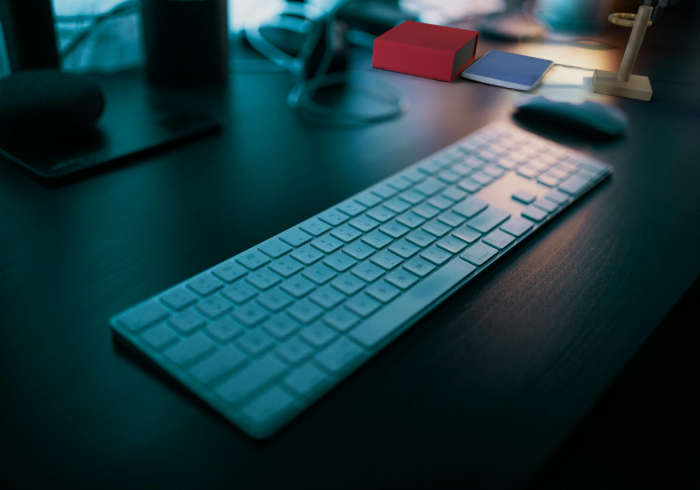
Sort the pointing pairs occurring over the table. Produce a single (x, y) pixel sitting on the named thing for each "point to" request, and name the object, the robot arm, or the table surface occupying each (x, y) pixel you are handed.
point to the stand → (627, 66)
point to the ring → (619, 20)
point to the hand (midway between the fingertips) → (647, 24)
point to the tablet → (509, 70)
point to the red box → (425, 50)
